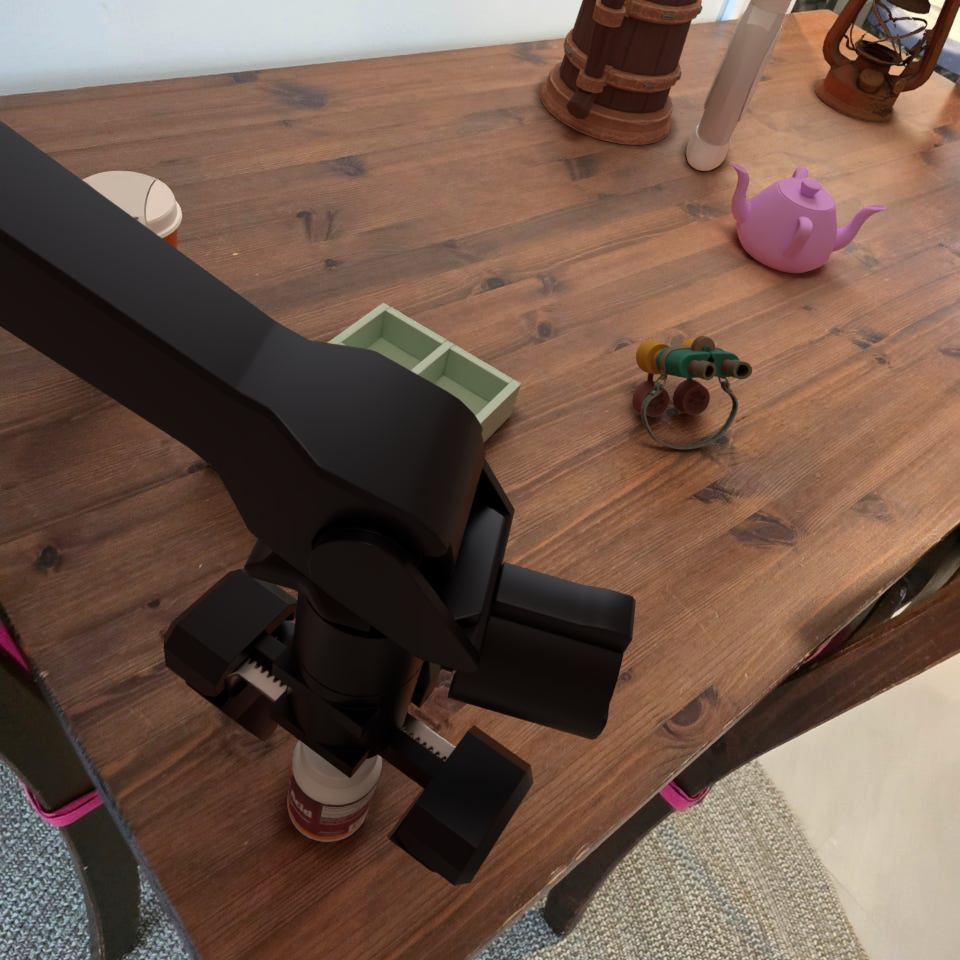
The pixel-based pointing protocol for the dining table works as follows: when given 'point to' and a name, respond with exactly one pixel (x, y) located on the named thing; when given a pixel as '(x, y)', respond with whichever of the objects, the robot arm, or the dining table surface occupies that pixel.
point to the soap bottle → (736, 81)
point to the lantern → (880, 60)
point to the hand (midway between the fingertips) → (331, 782)
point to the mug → (621, 69)
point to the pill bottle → (329, 795)
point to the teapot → (792, 222)
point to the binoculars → (689, 395)
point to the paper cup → (141, 200)
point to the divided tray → (436, 363)
